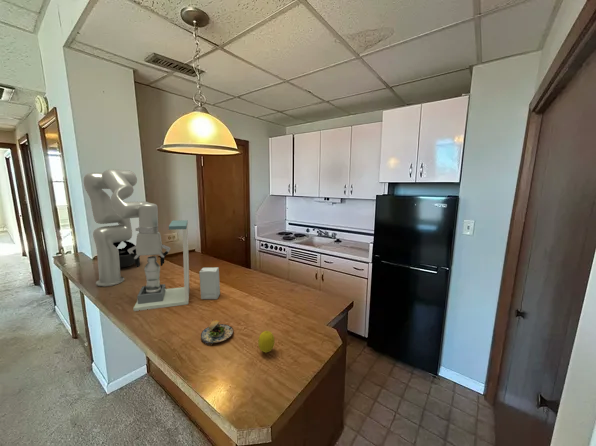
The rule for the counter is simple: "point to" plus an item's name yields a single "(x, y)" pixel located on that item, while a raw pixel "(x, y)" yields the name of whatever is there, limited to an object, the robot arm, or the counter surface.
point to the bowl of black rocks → (125, 254)
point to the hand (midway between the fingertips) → (150, 265)
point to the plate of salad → (216, 333)
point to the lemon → (266, 341)
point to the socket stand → (166, 295)
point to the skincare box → (209, 283)
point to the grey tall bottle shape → (152, 275)
